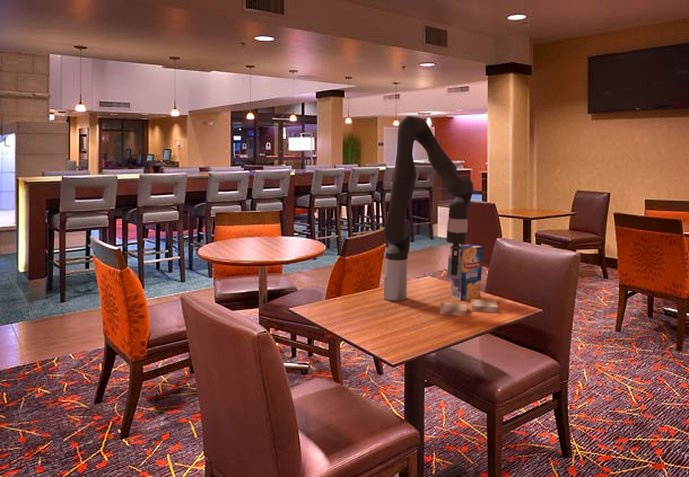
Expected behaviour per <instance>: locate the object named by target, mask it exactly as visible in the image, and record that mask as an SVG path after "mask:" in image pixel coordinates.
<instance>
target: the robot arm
mask: <svg viewBox="0 0 689 477" xmlns="http://www.w3.org/2000/svg"><path fill="white" fill-rule="evenodd" d="M396 141H397V142H396V143H397V146H396V155H395V163H394V171H393V175H392V180H391V181H392V182H391V190H390V191H391V192H390V197H389V198H390V199H389V206H388V211H387V215H386V218H385V223H384V228H383V236H384V238H385V240H386V241H387V243H388V247H387V249H386V251H385V265H384V266H385V267H384V276H383V278H384V279H383V280H384V281H383V300H388V301H394V302H401V301H404V300H407V295H408V294H407V293H408V292H407V288H408V257H409V253H410V247H411V246H410V244H411V228H410V224H409V223H408V222H407V221H406V220H405V219H406V214H407V209H408V206H409V205H410V202H411V200H412V197H413V195H414V191H415V188H416V181H417V168H416V165H415V161H414V156H413V153H414V152H413V151H414V150H413V149H414V143H415V141H416V142H417V143H418V144H419V145H421V146H422V147H423V149H424V150H425V152H426V155H427V157H428V161H429V163H430V165H431V167H432V168H433V169H434V171H435V173H437V175H438V176H439V177H440V178H441V182H442V183H443V186H444V189H445V191H447V193H448V194H449V195H451V196H452V197H455V199H454V201H453V202H451V203H450V204H449V206H448V207H449V208H448V219H447V226H446V238H445V239H446V243H450V244H452V245H451V246H450V255H451V260H452V263H451V266H452V269H451V275H454V276H456V275H457V268H458V264H459V263H458V260H459V259H460V253H461V247H459V245H465V244H466V243H467V238H468V227H469V226H468V215H469V214H468V213H469V206H470V204H471V201H472V197H473V193H474V183H473V181H472V180H471V179H470V178H469V177H466V176H463V177H459V176H458V175H457V170H458V169H457V166H456V165H455V164H454V162H453V161H452V159H450V157H449V156H448V154H447V153H446V152H445V151H444V149H442V147H441V145H440V144H439V142H438V141H437V138H436V136H435V135H434V133H433V131H432V130H431V128H430V126H429V124H428V122H427V121H426V120H425V119H424V118H422V117H419V116H411V115H406V116H404V117H402V119H401V120H400V122H399V124H398V127H397V140H396ZM453 260H457V262H453Z"/></svg>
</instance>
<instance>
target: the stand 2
mask: <svg viewBox="0 0 689 477" xmlns="http://www.w3.org/2000/svg"><path fill="white" fill-rule="evenodd" d="M470 310H471V312H489V313H499V306H498V302H497V300H495V299H494V300H493V299H479V298H473V299H470Z"/></svg>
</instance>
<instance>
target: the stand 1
mask: <svg viewBox="0 0 689 477" xmlns="http://www.w3.org/2000/svg"><path fill="white" fill-rule="evenodd" d="M439 307H440V308H439V315H443V316H444V315H445V316H457V317H459V316H460V317H467V315H468V307H467V303H459V302H458V303H456V302H455V303H454V302H443V301H441V302H440V306H439Z"/></svg>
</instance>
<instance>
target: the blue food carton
mask: <svg viewBox="0 0 689 477" xmlns="http://www.w3.org/2000/svg"><path fill="white" fill-rule="evenodd" d="M459 247H461V253H460V256H462V265H461V279H452V278H450V289H449V290H450V292H449V293H450V295H449V296H450V298H453V299H456V300H458V301H466V300H471V299H479V298H481V292H482V291H481V290H482V288H481V287H482V270H483V269H482V268H483V266H482V265H483V251H484V250H483V249H484V247H483V246H481V245H478V244H471V243H470V244H469V243H468V244H459Z"/></svg>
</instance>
